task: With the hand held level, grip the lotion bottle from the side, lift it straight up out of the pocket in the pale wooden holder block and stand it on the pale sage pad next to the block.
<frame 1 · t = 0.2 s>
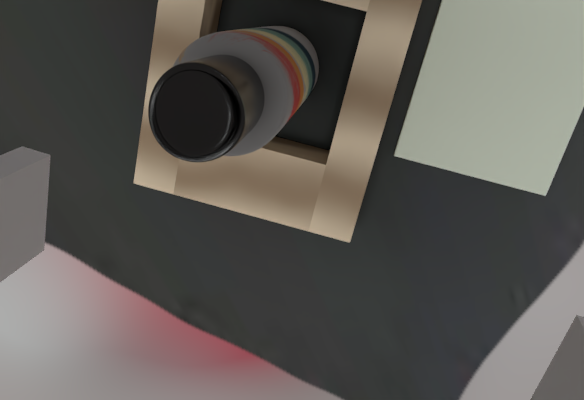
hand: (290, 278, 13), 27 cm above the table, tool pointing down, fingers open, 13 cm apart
lotion bottle: (280, 66, 39), resting in holder block
holder block: (280, 67, 39), on the table
sage pad: (502, 77, 37), on the table
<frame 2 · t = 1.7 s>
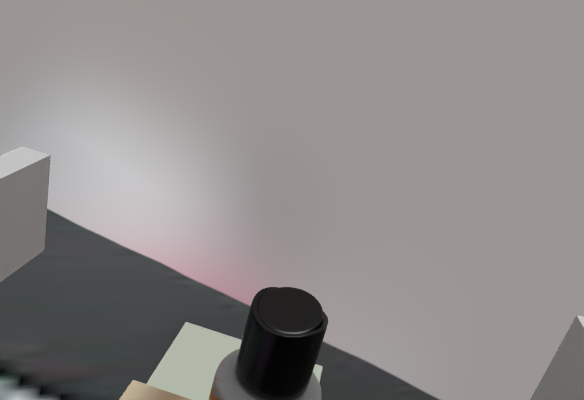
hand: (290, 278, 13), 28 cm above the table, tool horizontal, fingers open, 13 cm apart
sage pad: (236, 386, 48), on the table
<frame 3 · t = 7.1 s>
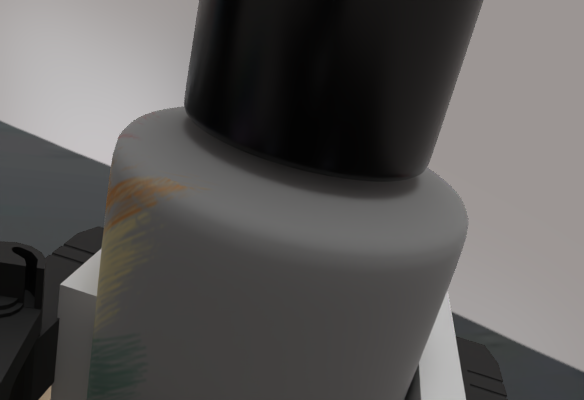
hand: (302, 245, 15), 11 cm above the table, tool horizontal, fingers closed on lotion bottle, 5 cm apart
when the fingers open (13 cm above the table, at t = 14.0 s): lotion bottle drops 1 cm, resting on sage pad.
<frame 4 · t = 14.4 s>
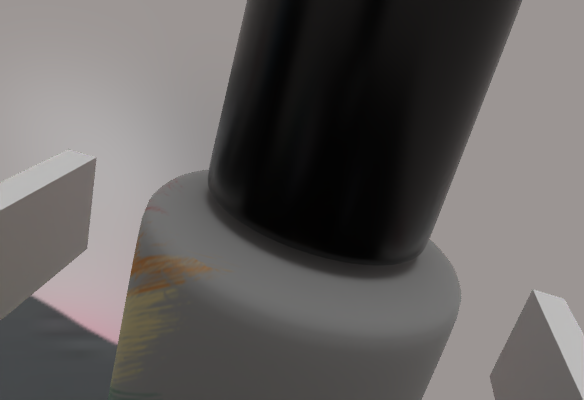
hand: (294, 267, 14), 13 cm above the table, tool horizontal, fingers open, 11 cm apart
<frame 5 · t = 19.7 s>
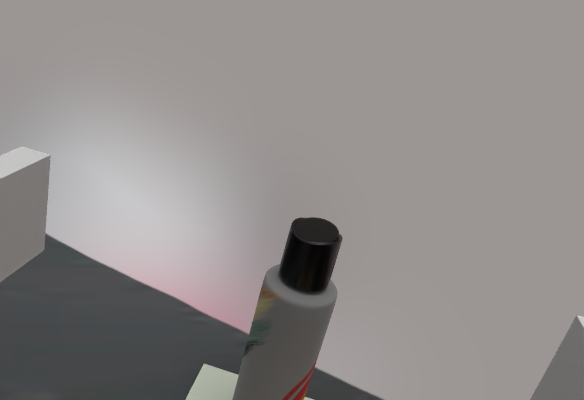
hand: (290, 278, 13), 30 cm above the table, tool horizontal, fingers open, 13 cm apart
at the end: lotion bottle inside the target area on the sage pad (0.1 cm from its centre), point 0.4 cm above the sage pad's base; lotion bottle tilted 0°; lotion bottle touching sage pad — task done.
